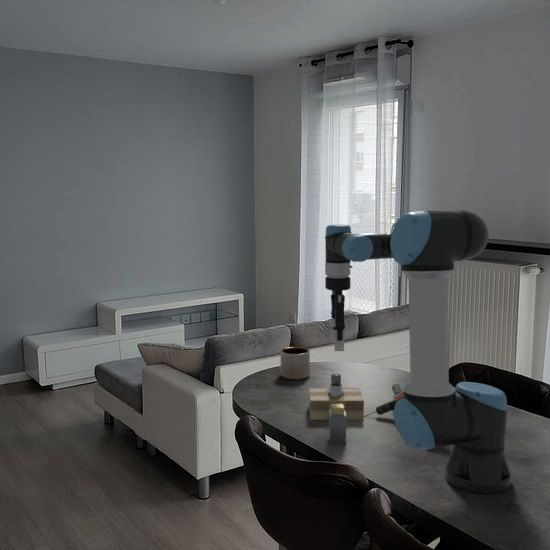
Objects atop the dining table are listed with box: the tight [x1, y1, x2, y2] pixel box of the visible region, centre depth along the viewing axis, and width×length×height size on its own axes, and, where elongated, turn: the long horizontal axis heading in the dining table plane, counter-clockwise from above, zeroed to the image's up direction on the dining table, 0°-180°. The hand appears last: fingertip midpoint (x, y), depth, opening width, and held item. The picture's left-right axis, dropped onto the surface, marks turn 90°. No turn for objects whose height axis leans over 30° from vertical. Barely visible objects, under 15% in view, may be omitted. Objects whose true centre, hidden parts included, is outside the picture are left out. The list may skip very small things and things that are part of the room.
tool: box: [364, 383, 404, 418], centre depth 193 cm, size 4×27×30 cm
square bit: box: [328, 404, 347, 445], centre depth 178 cm, size 4×4×10 cm
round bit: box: [329, 373, 343, 397], centre depth 199 cm, size 4×4×12 cm
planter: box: [279, 346, 311, 381], centre depth 237 cm, size 11×11×10 cm
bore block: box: [308, 387, 365, 421], centre depth 200 cm, size 12×16×6 cm
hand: (337, 345), depth 197 cm, fingers open, 13 cm apart
